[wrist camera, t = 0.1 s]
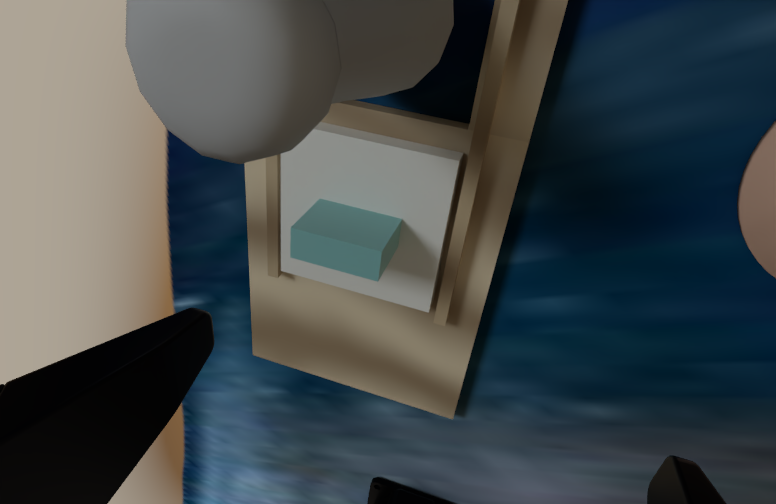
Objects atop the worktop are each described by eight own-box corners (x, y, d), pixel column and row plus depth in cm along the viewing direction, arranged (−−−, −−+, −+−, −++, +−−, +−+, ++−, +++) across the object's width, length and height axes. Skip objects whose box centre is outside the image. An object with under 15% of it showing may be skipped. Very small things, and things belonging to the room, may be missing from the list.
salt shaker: (322, 66, 22) (94, 174, 12) (329, -89, 19) (28, -139, 9) (451, 93, 21) (330, 238, 11) (480, -68, 18) (353, -94, 7)
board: (455, 409, 30) (450, 429, 29) (259, 346, 33) (246, 363, 31) (615, -173, 16) (619, -184, 14) (240, -206, 18) (215, -217, 17)
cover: (433, 301, 26) (413, 352, 22) (289, 261, 27) (251, 303, 24) (463, 153, 21) (444, 189, 18) (290, 115, 23) (244, 143, 20)
